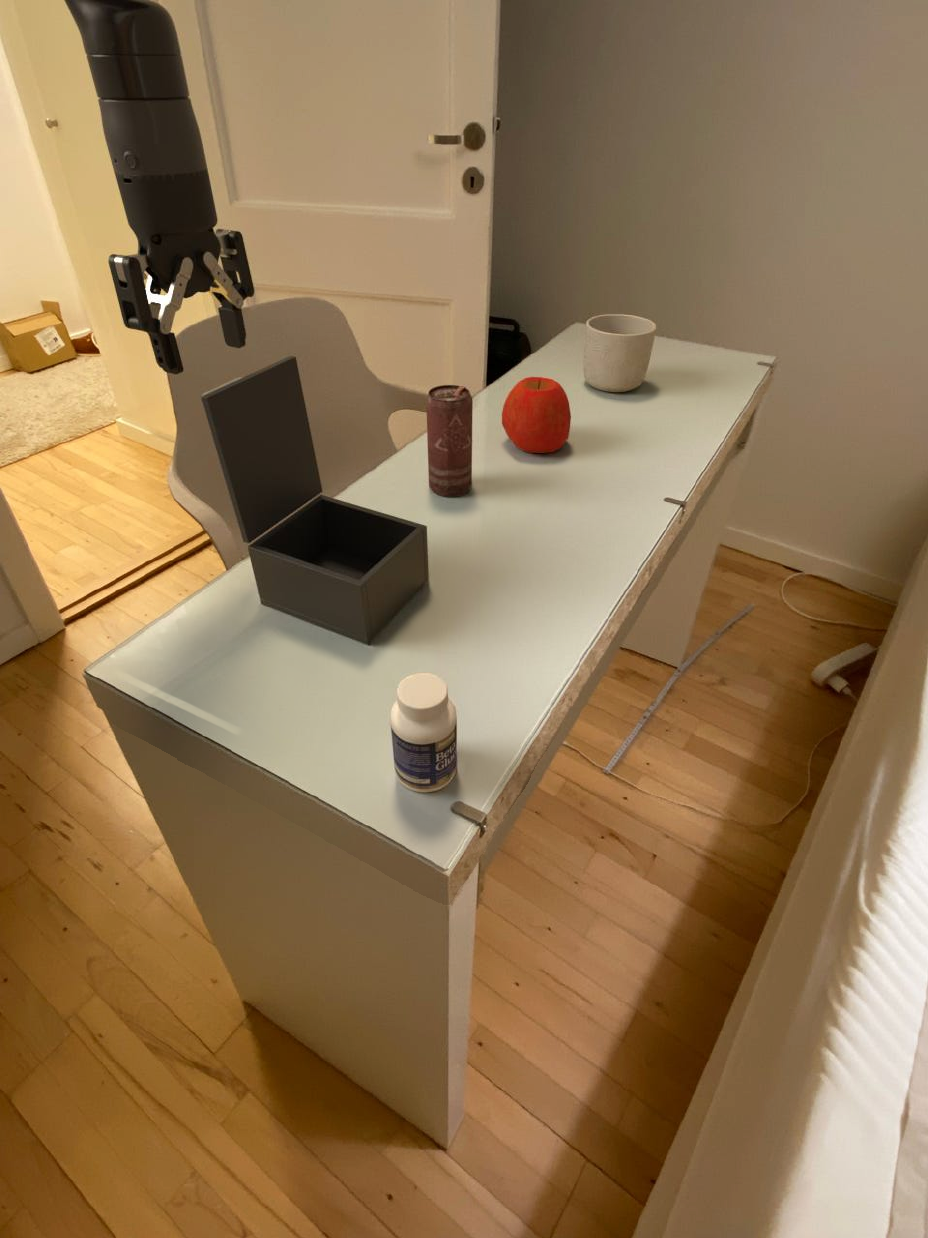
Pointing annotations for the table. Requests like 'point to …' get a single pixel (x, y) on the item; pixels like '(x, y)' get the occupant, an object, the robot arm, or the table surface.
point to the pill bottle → (424, 733)
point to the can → (449, 440)
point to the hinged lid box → (341, 567)
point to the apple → (537, 415)
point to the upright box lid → (264, 445)
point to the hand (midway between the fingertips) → (206, 358)
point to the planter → (617, 351)
